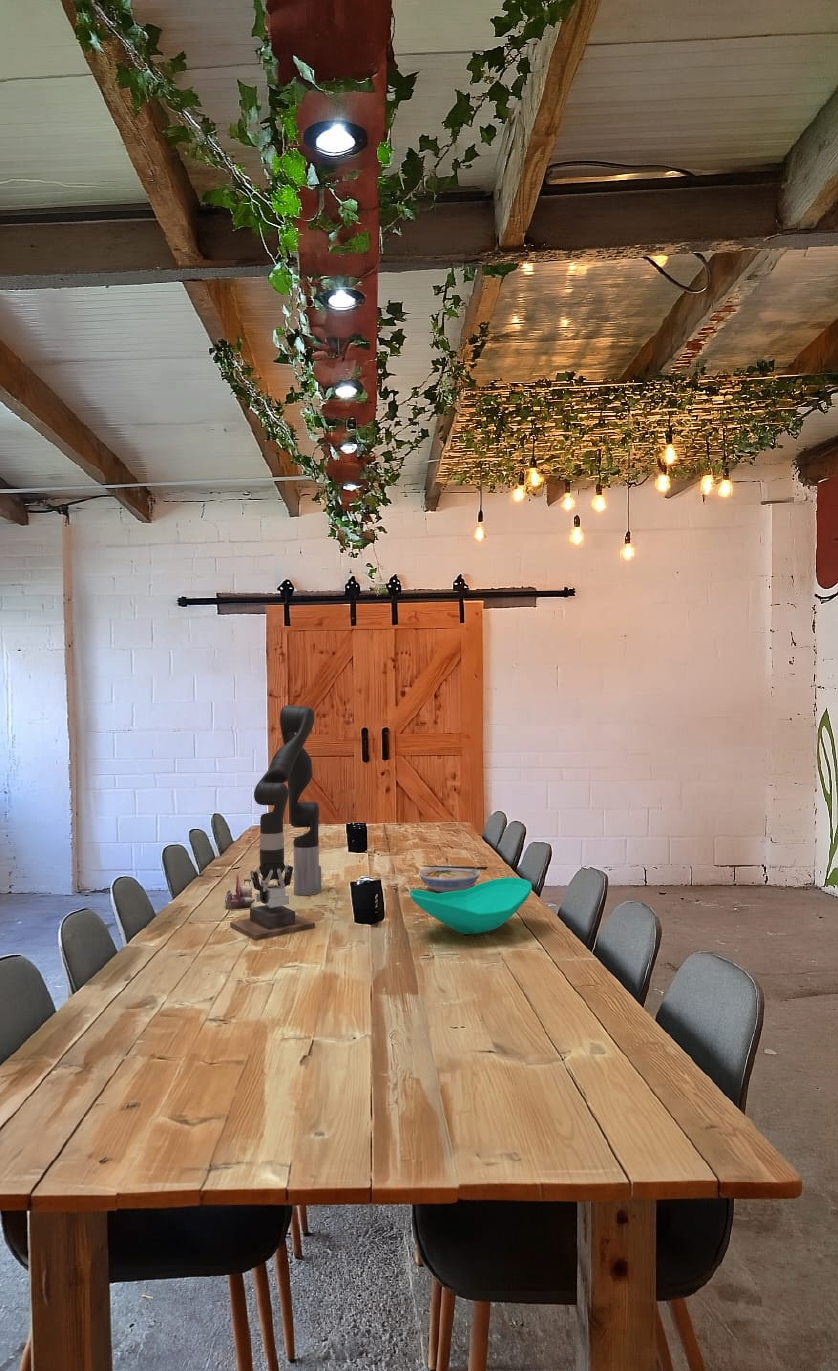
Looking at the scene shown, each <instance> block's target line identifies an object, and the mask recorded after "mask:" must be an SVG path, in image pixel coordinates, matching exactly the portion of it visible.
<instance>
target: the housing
mask: <svg viewBox="0 0 838 1371" xmlns="http://www.w3.org/2000/svg"><path fill="white" fill-rule="evenodd" d="M266 892H267V903H265V904H264V903H262V902H261V901H260V891H259V890H258V892H257V893H255V902H256V903H261V904H263V905H268V906H269V907H270V908H272V907H278V906H287V905H290V896H289V895H286V894H287V893H286V887H282V886H279V885H278V884H276V883H269V884H268V886H267V889H266Z"/></svg>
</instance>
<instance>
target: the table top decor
mask: <svg viewBox="0 0 838 1371" xmlns="http://www.w3.org/2000/svg"><path fill="white" fill-rule="evenodd" d="M532 889H533V885H532V882H531V881H528V880H527V879H526V878H525V879H524V878H520V877H510V876H509V877H508V876H507V877H501V878H494V879H491V880H488V881H484V882H481V883H478V884H476V885H473V886H471V887H470V888H468V889H466V890H460V891H452V892H445V893H440V892H439V893H437V892H431V891H428V890H424V889H423V890H422V889H411V890H410V891H409V895H410V898H411V900H412V901H413V902H414V903H415V904H416V905H417V906H418V907H419V908H420V909H421V910H422V911H424V912H425V913H427V914H428V915H430V916H431V917H432V918H434V919H436V920H437V921H439V922H441V923H442V924H444V925H445V926H448V928H451V929H453V930H454V931H456V932H457V933H460V934H465V935H478V934H483V933H486V932H491V931H493V930H496V929H498V928H500V927H501V926H502V925H503V924H504V923H506V922H507V921H508V920H509V919H510V918H511V917H512V916H513V915H515V913H517V911H518V910H519V909H520V907H521V906H522V905H523V904H524V903H525V902H526V901H527V900H528V897H529V896H530V894H531V892H532Z"/></svg>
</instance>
